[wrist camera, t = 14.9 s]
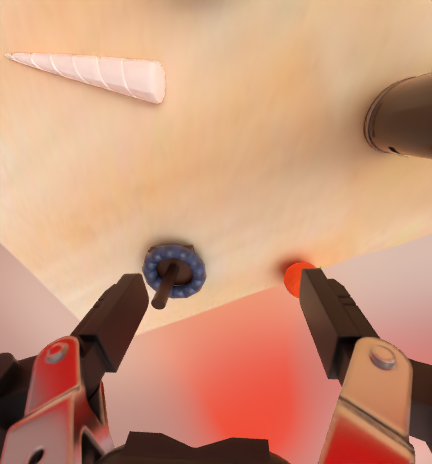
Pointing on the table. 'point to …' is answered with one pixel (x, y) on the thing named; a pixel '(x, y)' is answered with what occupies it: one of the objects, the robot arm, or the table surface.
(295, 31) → the table surface
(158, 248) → the ring
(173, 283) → the peg stand
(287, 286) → the clementine
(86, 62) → the unicorn horn
